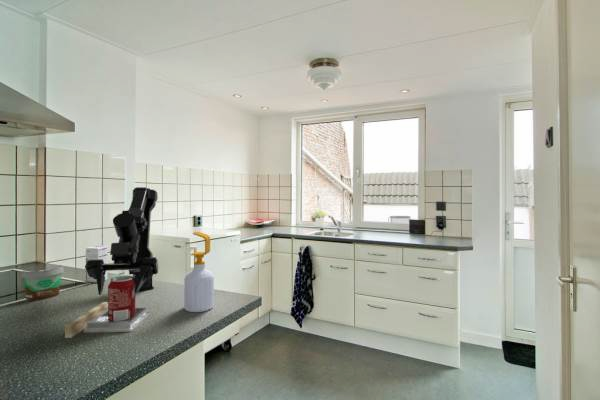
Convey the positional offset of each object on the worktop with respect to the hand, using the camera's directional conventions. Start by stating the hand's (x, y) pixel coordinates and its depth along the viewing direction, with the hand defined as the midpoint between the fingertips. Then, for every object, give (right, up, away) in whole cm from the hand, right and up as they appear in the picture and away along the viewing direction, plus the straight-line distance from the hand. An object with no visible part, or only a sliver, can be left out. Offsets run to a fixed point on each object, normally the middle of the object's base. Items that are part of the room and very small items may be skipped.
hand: (118, 293), depth 91 cm
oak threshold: (-8, -9, 0) cm, 12 cm away
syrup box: (-34, -8, +44) cm, 56 cm away
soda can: (+1, -8, +1) cm, 8 cm away
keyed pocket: (0, -9, +1) cm, 9 cm away
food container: (-38, -8, +23) cm, 45 cm away
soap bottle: (+19, -9, +14) cm, 25 cm away
